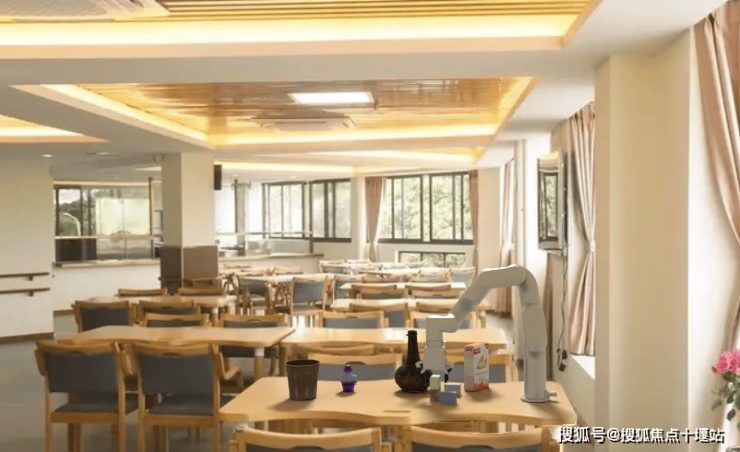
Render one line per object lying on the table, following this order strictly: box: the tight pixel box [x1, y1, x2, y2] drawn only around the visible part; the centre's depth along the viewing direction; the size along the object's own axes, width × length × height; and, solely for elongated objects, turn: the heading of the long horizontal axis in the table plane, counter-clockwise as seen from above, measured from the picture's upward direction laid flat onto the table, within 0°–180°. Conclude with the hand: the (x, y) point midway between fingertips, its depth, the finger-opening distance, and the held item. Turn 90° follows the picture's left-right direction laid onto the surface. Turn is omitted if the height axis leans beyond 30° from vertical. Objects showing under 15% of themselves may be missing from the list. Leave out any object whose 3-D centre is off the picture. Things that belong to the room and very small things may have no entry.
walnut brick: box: [429, 386, 442, 402], centre depth 368 cm, size 4×7×5 cm, turn 164°
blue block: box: [438, 390, 458, 406], centre depth 359 cm, size 7×4×5 cm, turn 75°
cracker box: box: [463, 341, 490, 392], centre depth 389 cm, size 14×6×21 cm, turn 143°
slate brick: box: [443, 382, 462, 397], centre depth 376 cm, size 7×4×5 cm, turn 75°
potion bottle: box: [339, 364, 358, 393], centre depth 389 cm, size 9×9×12 cm
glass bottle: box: [394, 329, 434, 393], centre depth 387 cm, size 18×18×28 cm
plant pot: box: [283, 358, 321, 401], centre depth 376 cm, size 16×16×16 cm
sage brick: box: [429, 374, 442, 390], centre depth 368 cm, size 4×7×5 cm, turn 165°
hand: (435, 382), depth 368 cm, fingers open, 9 cm apart
